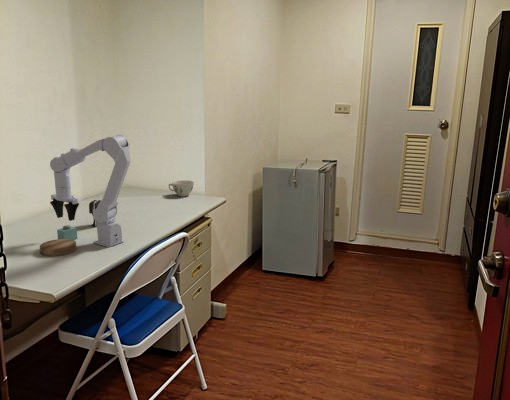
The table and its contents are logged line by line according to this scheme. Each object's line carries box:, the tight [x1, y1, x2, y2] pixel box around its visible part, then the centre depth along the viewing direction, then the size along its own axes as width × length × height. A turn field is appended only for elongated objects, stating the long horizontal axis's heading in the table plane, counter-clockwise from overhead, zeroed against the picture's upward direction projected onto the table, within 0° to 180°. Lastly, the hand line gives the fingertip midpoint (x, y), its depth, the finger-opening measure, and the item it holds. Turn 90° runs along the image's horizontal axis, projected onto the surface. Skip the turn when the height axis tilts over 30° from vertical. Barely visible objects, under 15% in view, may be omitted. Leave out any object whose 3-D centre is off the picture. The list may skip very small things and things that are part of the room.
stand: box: [39, 238, 77, 257], centre depth 184 cm, size 13×13×2 cm
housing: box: [56, 224, 78, 241], centre depth 196 cm, size 4×6×6 cm
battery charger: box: [88, 199, 102, 228], centre depth 217 cm, size 7×4×11 cm, turn 176°
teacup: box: [168, 180, 195, 198], centre depth 276 cm, size 15×12×8 cm
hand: (65, 218), depth 195 cm, fingers open, 7 cm apart
